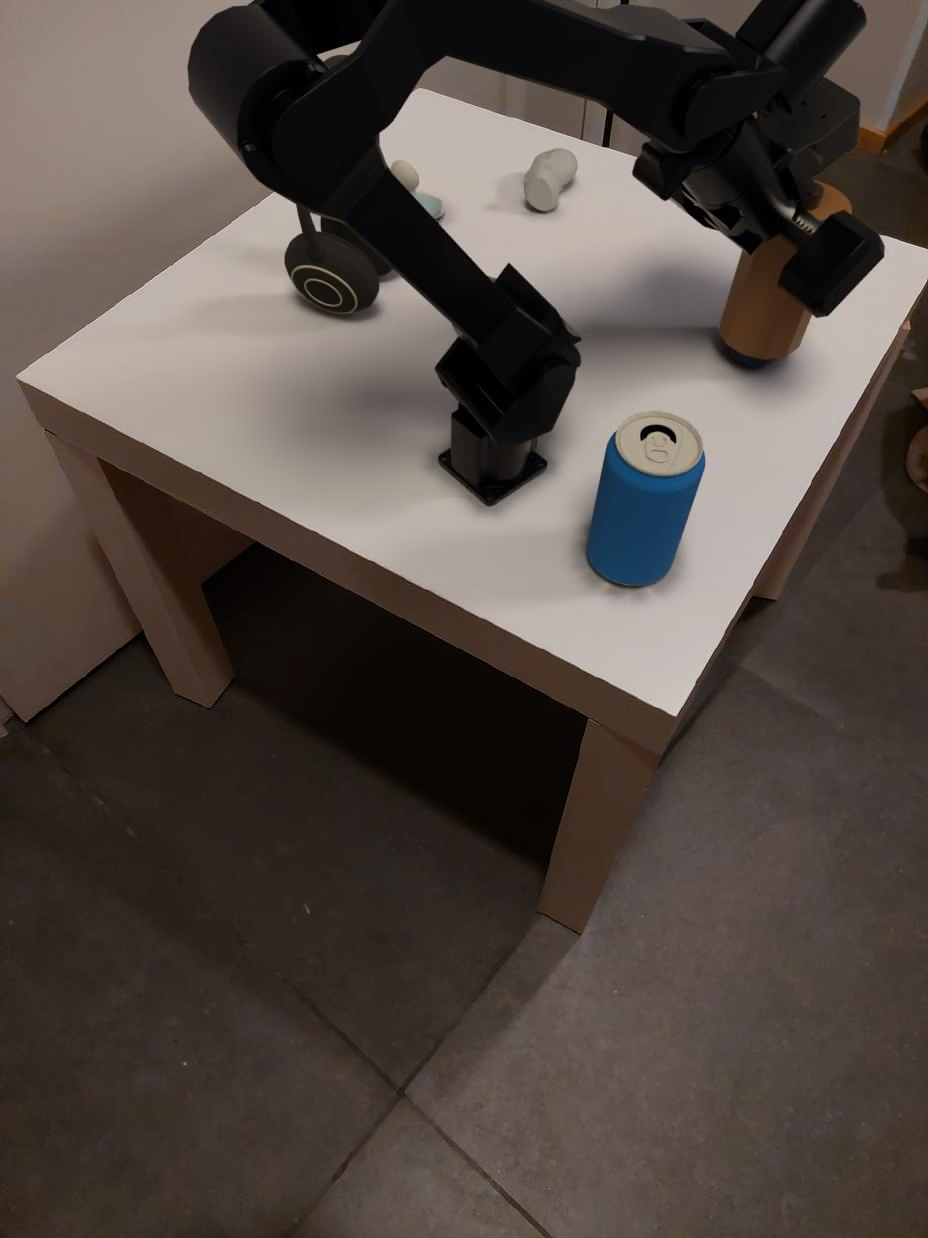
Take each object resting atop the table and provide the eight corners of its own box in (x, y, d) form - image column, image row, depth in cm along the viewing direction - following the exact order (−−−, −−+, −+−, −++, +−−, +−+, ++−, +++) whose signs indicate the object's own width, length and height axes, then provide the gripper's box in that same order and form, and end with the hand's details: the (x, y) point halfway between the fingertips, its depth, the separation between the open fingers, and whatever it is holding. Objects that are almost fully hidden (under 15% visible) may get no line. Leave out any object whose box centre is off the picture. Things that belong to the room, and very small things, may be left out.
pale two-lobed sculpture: (542, 181, 97) (586, 178, 95) (512, 217, 93) (557, 216, 91) (534, 139, 94) (579, 136, 92) (502, 175, 90) (549, 173, 88)
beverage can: (670, 527, 69) (707, 409, 59) (673, 595, 66) (713, 483, 56) (586, 520, 69) (609, 402, 59) (584, 587, 66) (608, 474, 56)
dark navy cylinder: (757, 374, 79) (770, 336, 76) (721, 350, 81) (733, 313, 77) (785, 354, 81) (799, 316, 77) (750, 331, 82) (762, 294, 79)
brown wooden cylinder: (736, 363, 76) (786, 218, 65) (707, 311, 80) (749, 166, 69) (813, 353, 77) (874, 209, 66) (781, 302, 81) (833, 158, 70)
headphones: (424, 256, 88) (418, 30, 71) (362, 350, 80) (340, 121, 63) (344, 237, 89) (320, 11, 73) (275, 327, 82) (231, 98, 65)
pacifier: (393, 191, 94) (365, 220, 91) (391, 130, 89) (361, 158, 86) (456, 210, 92) (430, 239, 89) (457, 148, 87) (430, 177, 84)
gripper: (927, 120, 54) (966, 235, 66) (724, -3, 63) (792, 119, 75) (786, 275, 58) (848, 356, 70) (614, 139, 67) (696, 233, 79)
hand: (796, 260), depth 74 cm, fingers closed on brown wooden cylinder, 7 cm apart
